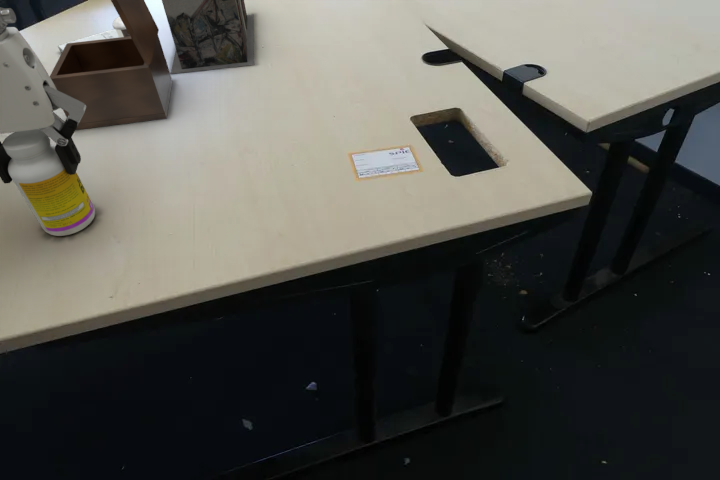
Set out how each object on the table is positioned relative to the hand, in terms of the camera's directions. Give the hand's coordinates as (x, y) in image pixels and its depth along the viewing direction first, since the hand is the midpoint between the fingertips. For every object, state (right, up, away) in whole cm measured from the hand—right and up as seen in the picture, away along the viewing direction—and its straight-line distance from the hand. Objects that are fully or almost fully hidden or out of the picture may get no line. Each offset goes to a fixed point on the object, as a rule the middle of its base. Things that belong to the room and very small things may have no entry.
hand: (42, 171), depth 65 cm
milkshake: (-4, +25, +38) cm, 46 cm away
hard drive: (-15, +31, +44) cm, 56 cm away
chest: (-2, +15, +27) cm, 31 cm away
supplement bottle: (0, -6, +6) cm, 8 cm away
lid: (+3, +28, +16) cm, 33 cm away
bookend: (+9, +32, +44) cm, 56 cm away
